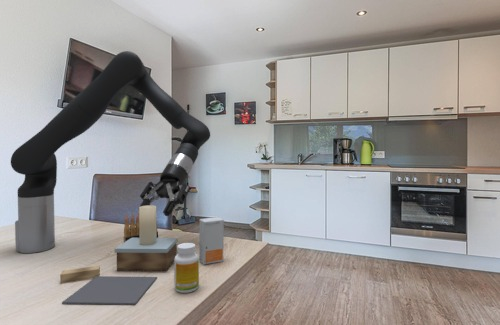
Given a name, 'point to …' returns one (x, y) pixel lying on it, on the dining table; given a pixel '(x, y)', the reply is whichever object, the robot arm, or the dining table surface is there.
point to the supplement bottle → (186, 268)
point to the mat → (111, 291)
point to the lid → (147, 235)
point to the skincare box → (211, 240)
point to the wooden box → (146, 261)
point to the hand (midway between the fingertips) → (153, 213)
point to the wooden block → (79, 274)
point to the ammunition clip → (133, 228)
